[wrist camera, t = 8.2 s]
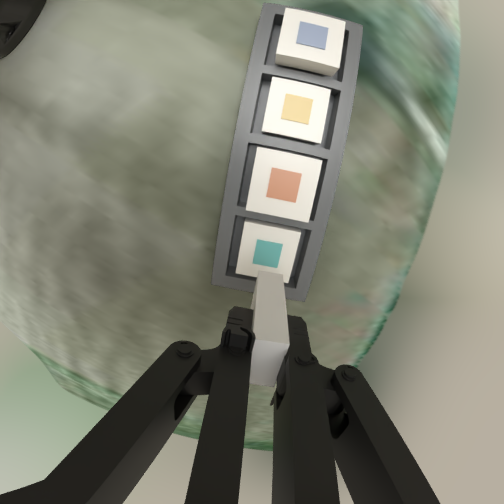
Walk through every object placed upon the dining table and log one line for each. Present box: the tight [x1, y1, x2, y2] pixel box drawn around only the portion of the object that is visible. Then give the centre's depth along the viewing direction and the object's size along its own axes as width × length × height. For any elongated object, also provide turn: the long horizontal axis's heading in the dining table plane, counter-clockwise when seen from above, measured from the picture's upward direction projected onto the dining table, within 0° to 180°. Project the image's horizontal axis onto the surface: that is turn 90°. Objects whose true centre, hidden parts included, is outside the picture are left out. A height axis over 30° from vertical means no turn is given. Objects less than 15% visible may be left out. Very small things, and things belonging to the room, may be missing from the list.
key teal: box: [236, 217, 301, 283], centre depth 24 cm, size 5×5×3 cm
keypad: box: [211, 3, 363, 302], centre depth 22 cm, size 9×27×3 cm, turn 170°
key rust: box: [246, 147, 322, 223], centre depth 20 cm, size 5×5×3 cm
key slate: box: [275, 8, 346, 77], centre depth 16 cm, size 5×5×3 cm
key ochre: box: [262, 77, 331, 145], centre depth 20 cm, size 5×5×3 cm
